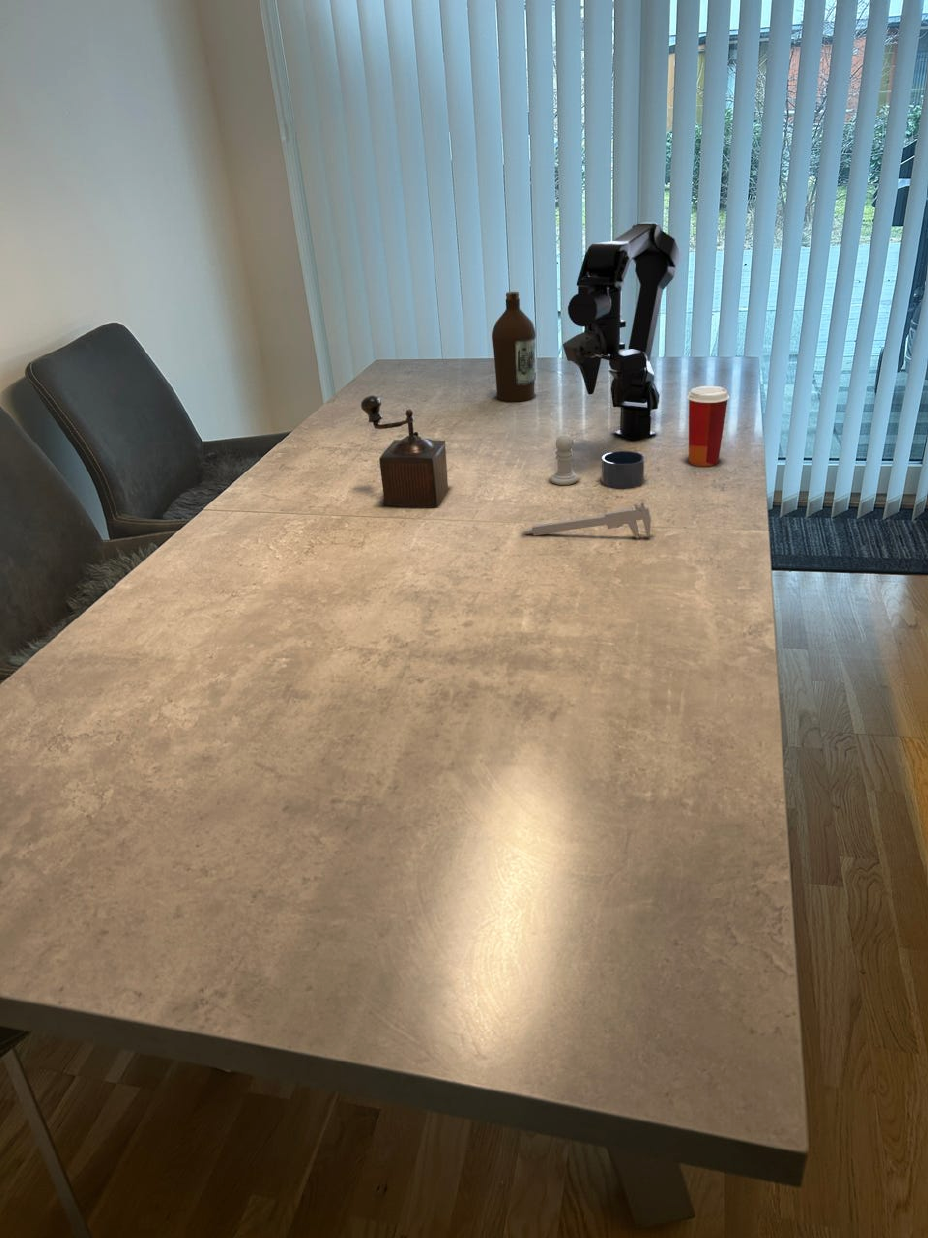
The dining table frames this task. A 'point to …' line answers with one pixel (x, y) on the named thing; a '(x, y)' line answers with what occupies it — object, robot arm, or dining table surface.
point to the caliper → (600, 521)
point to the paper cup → (706, 424)
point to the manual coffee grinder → (409, 464)
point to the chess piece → (564, 462)
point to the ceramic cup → (622, 469)
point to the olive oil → (514, 353)
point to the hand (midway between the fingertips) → (604, 398)
